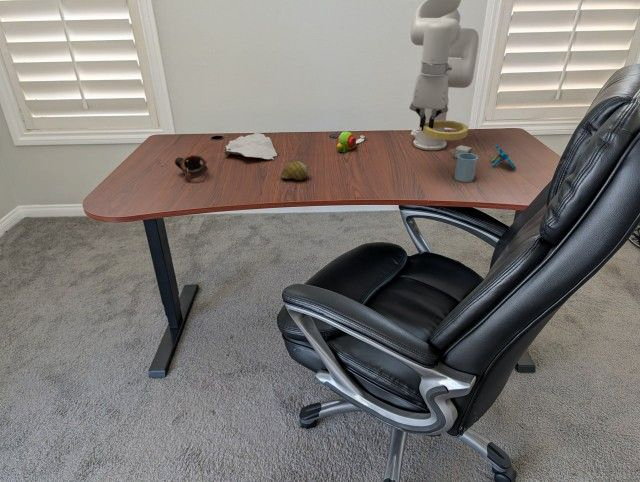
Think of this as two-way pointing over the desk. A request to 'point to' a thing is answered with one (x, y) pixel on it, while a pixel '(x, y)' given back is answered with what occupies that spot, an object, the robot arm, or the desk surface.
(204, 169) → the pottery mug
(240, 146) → the paper
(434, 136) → the ring
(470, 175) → the cup
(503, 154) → the blue branched piece
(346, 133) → the toy measuring tape
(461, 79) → the robot arm
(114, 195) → the desk surface
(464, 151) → the usb wall charger
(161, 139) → the desk surface
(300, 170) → the seashell
